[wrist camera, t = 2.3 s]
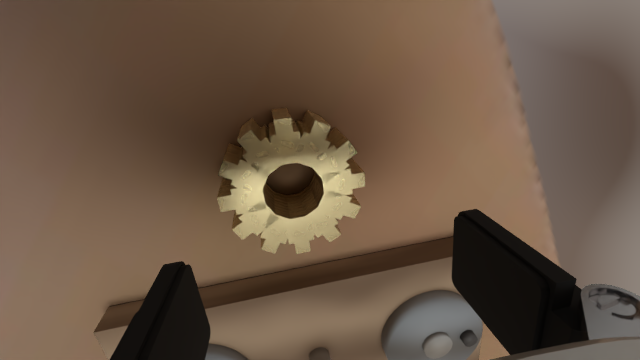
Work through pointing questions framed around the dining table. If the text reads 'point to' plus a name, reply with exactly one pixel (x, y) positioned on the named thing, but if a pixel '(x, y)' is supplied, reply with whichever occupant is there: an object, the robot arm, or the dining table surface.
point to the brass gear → (296, 209)
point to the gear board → (336, 311)
